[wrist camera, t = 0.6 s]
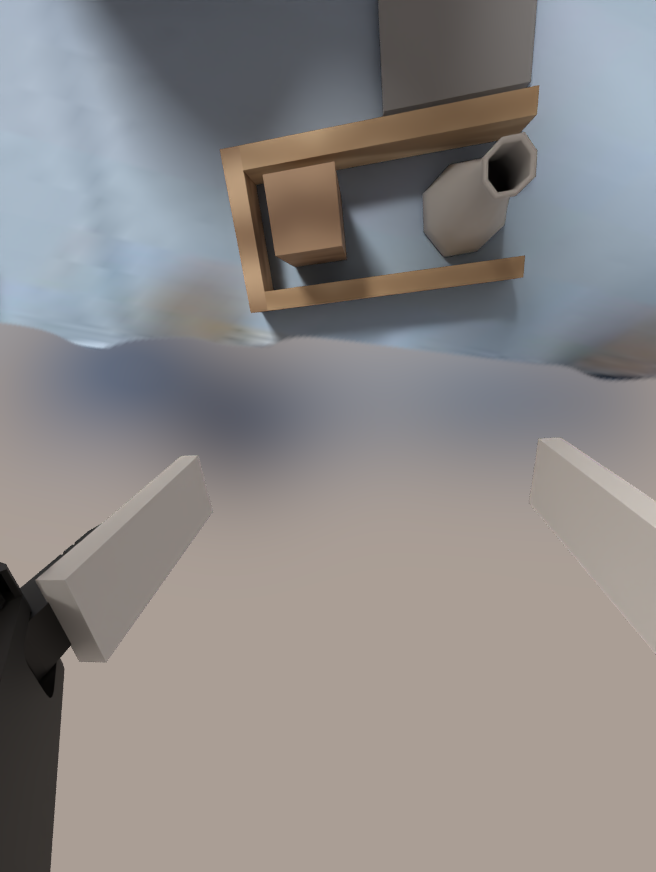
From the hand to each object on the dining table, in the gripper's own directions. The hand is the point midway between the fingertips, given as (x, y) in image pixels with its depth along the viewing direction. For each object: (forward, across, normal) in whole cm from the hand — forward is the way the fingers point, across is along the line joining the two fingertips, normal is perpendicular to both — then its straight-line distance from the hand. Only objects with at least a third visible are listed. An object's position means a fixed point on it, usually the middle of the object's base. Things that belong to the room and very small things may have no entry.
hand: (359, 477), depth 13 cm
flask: (+24, +10, +13) cm, 29 cm away
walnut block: (+24, -3, +13) cm, 27 cm away
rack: (+24, +3, +13) cm, 27 cm away
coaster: (+24, +8, +26) cm, 36 cm away
